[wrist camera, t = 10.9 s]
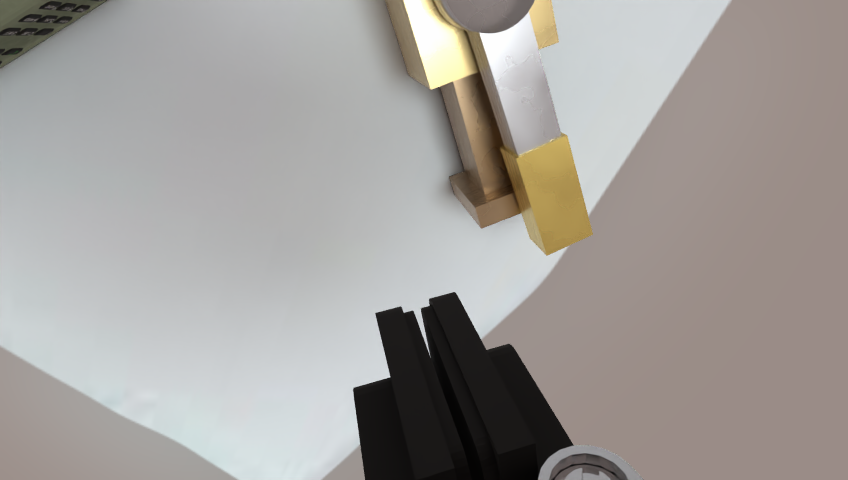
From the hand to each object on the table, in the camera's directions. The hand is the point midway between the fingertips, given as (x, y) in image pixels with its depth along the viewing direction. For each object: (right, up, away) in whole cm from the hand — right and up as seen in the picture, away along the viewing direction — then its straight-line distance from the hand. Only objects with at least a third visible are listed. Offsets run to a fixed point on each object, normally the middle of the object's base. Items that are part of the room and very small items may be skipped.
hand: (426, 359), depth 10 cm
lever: (+4, +10, +16) cm, 19 cm away
